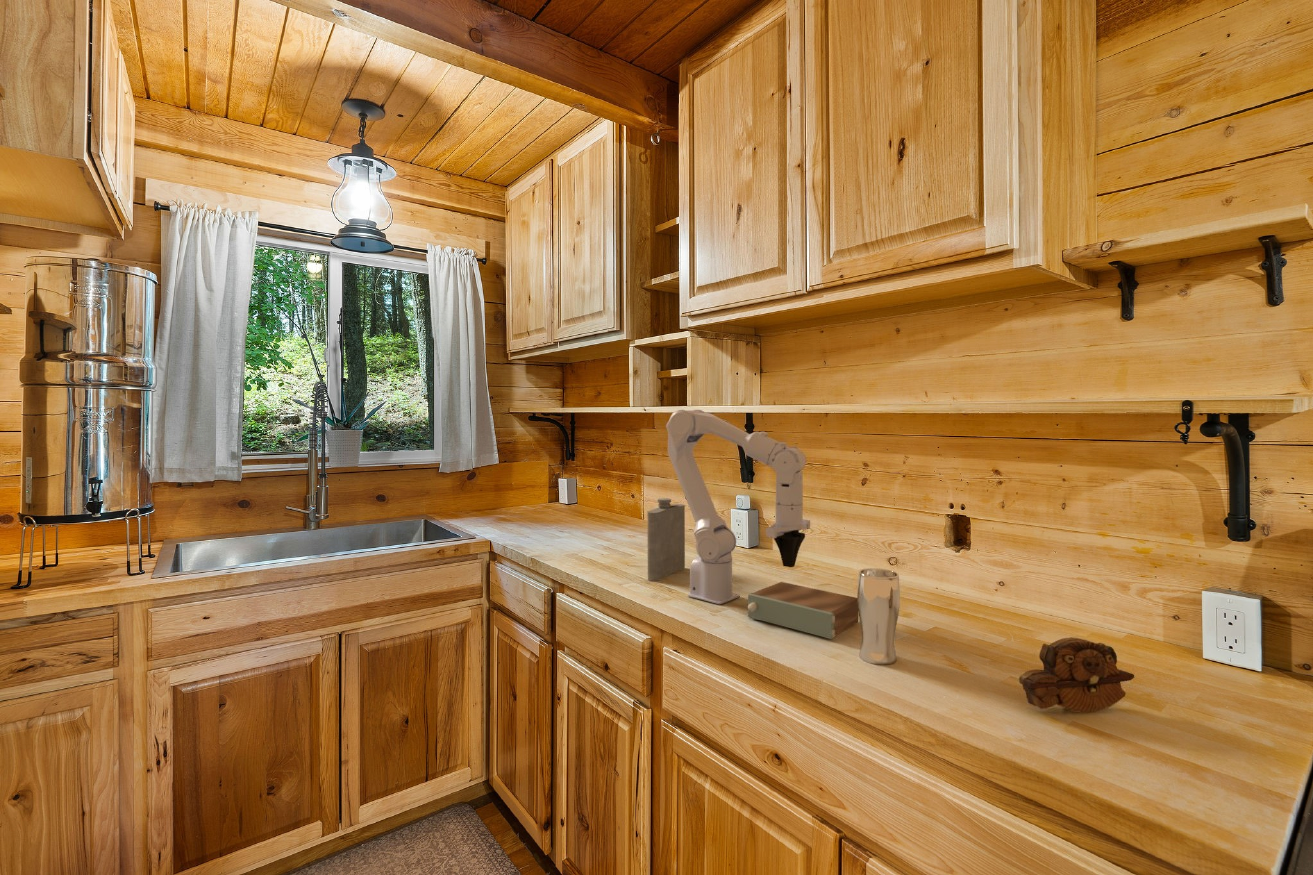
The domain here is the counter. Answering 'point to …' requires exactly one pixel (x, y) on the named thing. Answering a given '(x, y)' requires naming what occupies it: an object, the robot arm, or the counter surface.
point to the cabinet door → (792, 615)
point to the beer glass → (878, 614)
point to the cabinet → (816, 602)
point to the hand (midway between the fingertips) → (788, 566)
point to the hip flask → (665, 539)
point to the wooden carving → (1075, 676)
